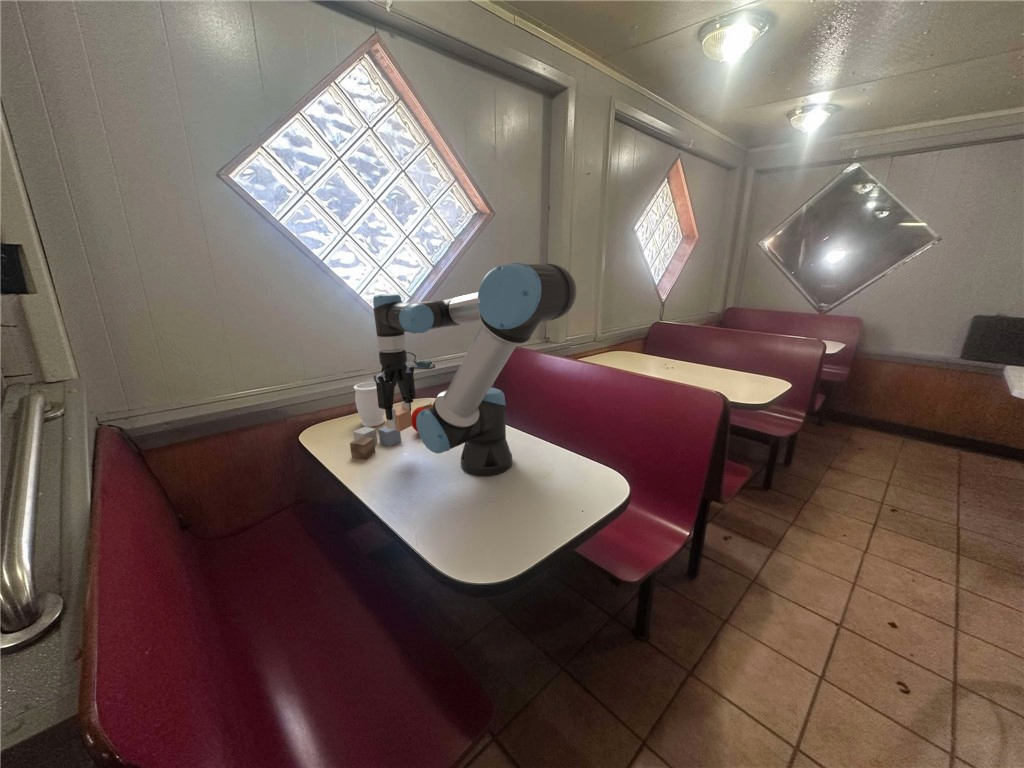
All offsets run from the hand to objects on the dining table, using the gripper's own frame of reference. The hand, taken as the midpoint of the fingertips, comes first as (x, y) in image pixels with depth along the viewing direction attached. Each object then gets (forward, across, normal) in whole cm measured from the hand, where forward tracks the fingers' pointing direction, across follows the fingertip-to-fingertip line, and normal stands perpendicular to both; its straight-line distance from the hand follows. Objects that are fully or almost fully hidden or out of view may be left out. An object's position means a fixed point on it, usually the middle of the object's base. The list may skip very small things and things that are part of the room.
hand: (400, 425), depth 119 cm
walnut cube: (+10, +5, -12) cm, 17 cm away
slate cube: (+10, -6, -12) cm, 17 cm away
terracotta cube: (0, 0, 0) cm, 0 cm away
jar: (+10, -15, -31) cm, 36 cm away
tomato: (+11, -19, -6) cm, 23 cm away
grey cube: (+10, -1, -18) cm, 21 cm away
